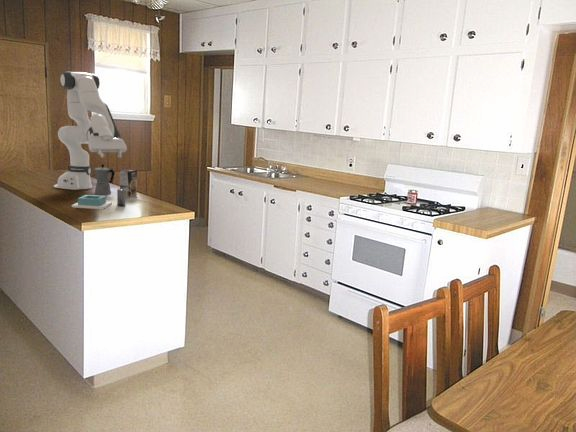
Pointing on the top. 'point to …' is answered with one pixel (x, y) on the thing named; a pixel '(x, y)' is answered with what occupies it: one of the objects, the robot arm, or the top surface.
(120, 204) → the steel pin
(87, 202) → the keeper board
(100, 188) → the coffeepot
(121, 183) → the coffee box
